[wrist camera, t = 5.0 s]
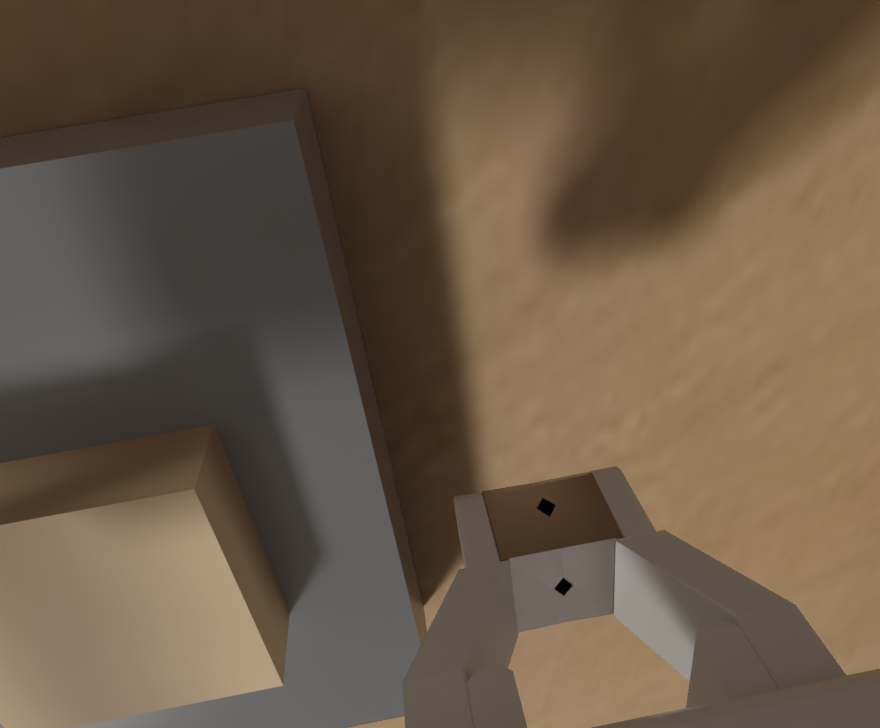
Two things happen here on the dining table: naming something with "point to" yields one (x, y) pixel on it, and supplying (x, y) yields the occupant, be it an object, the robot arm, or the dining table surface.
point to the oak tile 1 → (131, 583)
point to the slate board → (217, 368)
